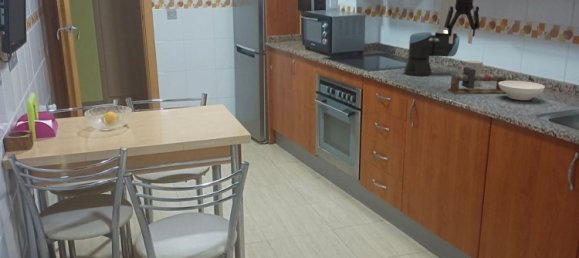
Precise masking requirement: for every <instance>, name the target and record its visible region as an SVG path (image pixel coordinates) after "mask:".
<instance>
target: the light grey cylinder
mask: <svg viewBox="0 0 579 258" xmlns="http://www.w3.org/2000/svg"><path fill="white" fill-rule="evenodd" d="M464 67H470V68H472V69H475V70H476V71H475V75H482V71H483V61H480V60H479V61H478V60H466V61H465V65H464ZM475 87H476V88H477V87H481V81H474V88H475Z"/></svg>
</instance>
